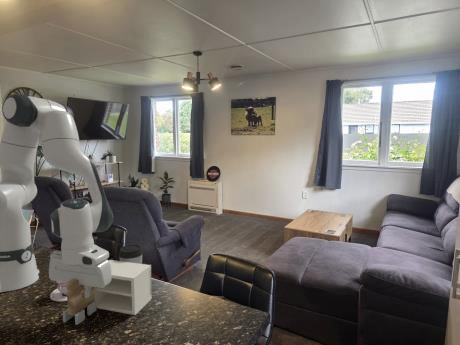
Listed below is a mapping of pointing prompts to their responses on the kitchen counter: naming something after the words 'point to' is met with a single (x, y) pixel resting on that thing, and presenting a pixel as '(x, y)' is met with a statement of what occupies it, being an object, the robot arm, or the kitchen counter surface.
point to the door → (77, 297)
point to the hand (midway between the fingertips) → (81, 296)
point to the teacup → (59, 293)
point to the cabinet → (120, 291)
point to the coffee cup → (131, 254)
